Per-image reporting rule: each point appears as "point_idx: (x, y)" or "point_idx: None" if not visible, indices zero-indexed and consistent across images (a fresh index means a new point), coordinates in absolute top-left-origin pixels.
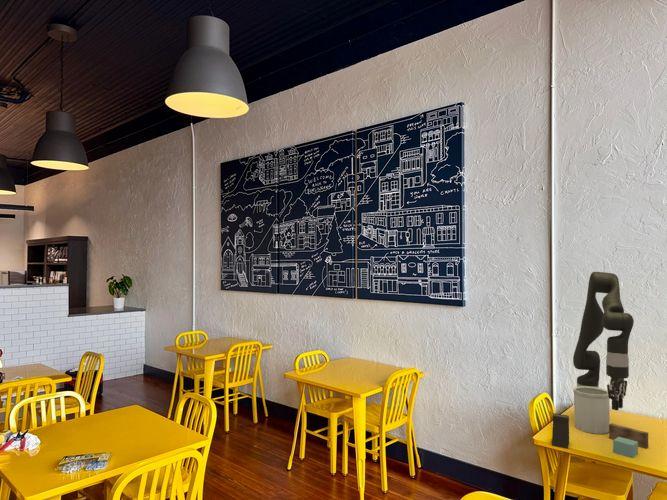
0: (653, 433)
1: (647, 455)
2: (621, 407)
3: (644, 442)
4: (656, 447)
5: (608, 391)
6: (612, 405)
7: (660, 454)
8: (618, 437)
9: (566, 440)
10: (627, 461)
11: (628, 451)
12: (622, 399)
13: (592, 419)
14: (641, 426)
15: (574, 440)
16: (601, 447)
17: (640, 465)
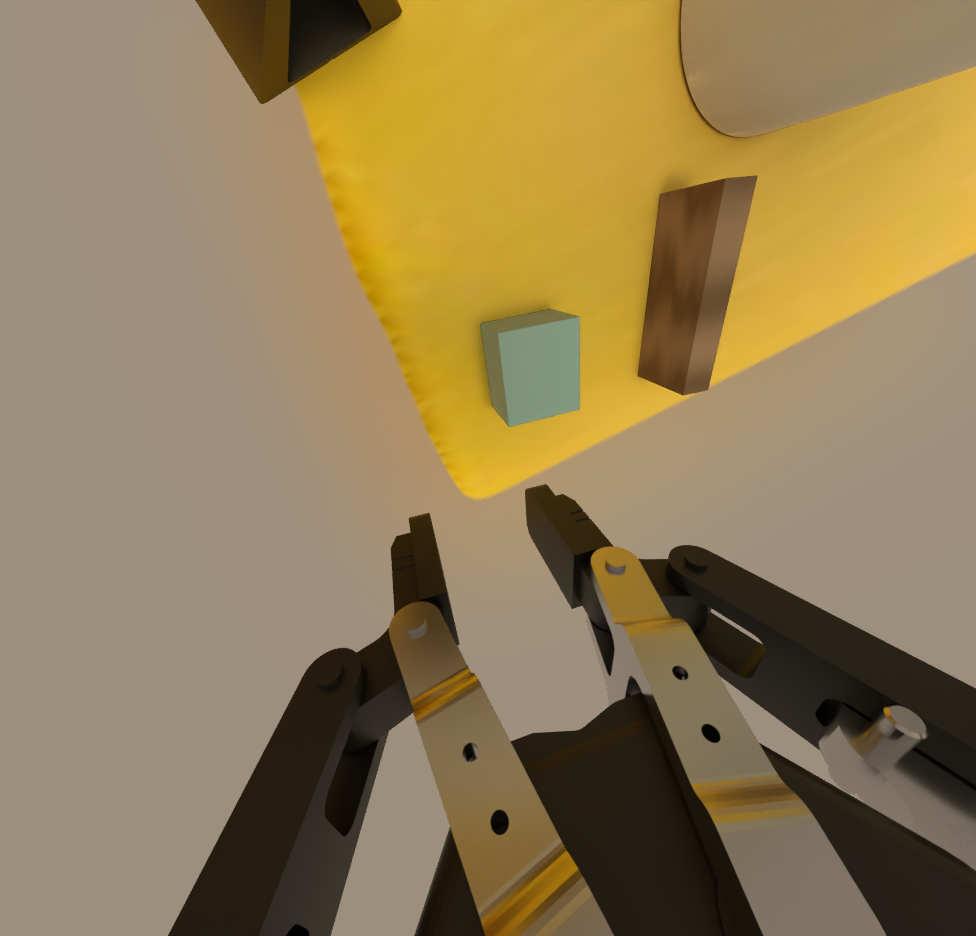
0: (841, 294)
1: (568, 415)
2: (530, 532)
3: (655, 376)
4: None
5: (202, 887)
6: (392, 565)
7: (615, 431)
8: (566, 324)
9: (250, 53)
10: (433, 415)
11: (495, 396)
12: (578, 599)
13: (764, 7)
14: (919, 209)
15: (459, 36)
16: (495, 246)
17: (441, 459)
